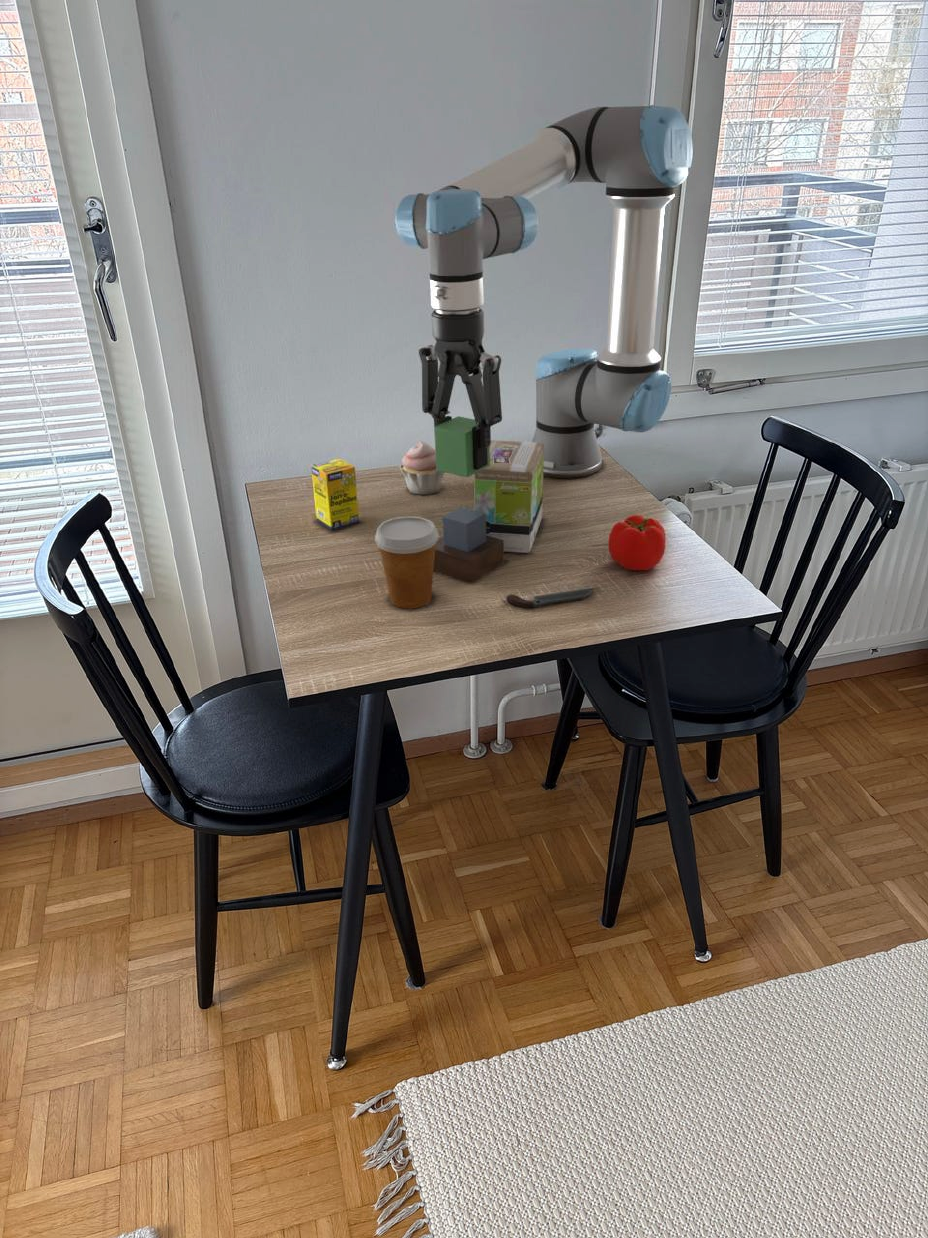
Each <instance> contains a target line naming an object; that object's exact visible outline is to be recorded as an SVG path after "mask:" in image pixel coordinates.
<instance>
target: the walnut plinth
mask: <svg viewBox="0 0 928 1238" xmlns="http://www.w3.org/2000/svg"><path fill="white" fill-rule="evenodd" d="M504 553H505V551H504V544H503V540H501V539H497V538H494V537H491V536H487V535H486V542H484V543H483V544H481V545H480V546H478V547H476V548H475V549H473V550H471V551H470V552H465V551H462V550H458V549H455V548H452V547H449V546H445V545H444V541H443V537H441V538H438V539H437V542H436V545H435V557H434V570H433V572H437V573H439V574H442V575H446V576H449V577H453V578H455V579H458V580H462V581H464V582H468V583H471V584H472V583H474V582H475V581H476V580H478V579H479V578H481V577H482V576H484V575H486V574H488V573H489V572H490V571H492V570H494V569H495V568H497V567H499V566H500V565H501V564H503V563H505V562H504V561H505V559H504V558H505V557H504V556H505V555H504Z"/></svg>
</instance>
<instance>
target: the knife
mask: <svg viewBox="0 0 928 1238" xmlns="http://www.w3.org/2000/svg"><path fill="white" fill-rule="evenodd" d="M595 590H596V587H595V586H593V587H588V588H580V589H573V590H567V591H559V592H555V593H554V592H553V593H547V594H546V593H545V594H540V595H534V597H533V598H534V600H530V599H528V600H527V599H524V598H522V597H520V596H519V595H516V594H508V595H507V596H506V600H507V602H508V603H510V604H512V605H515V606H518V607H522V608H534V607H540V606H545V605H549V604H555V603H562V602H568V601H576V600H582V599H586V597H588V596H589V595H591V594H592V593H593V592H594V591H595Z"/></svg>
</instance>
